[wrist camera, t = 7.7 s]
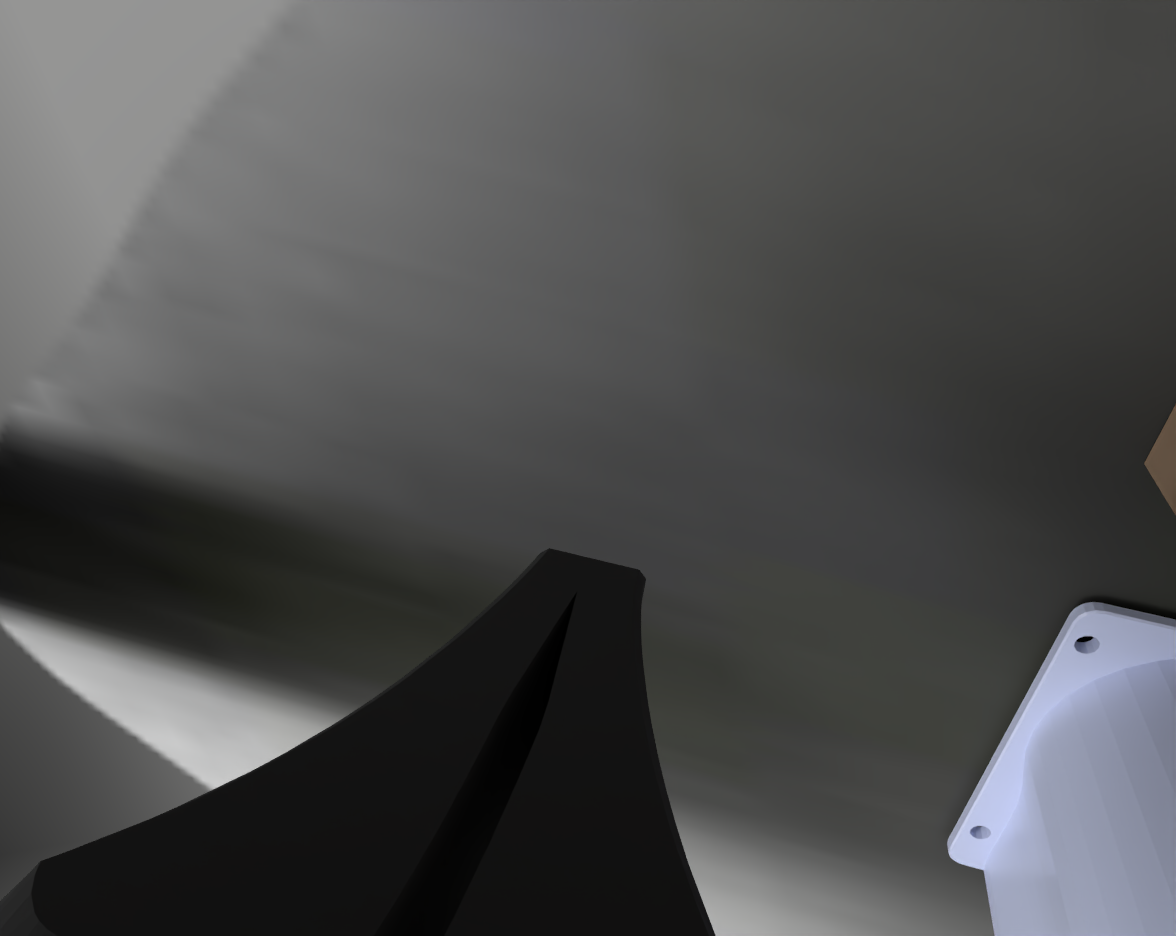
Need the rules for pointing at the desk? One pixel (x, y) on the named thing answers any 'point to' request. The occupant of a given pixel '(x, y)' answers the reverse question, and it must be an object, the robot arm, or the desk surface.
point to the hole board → (1165, 461)
